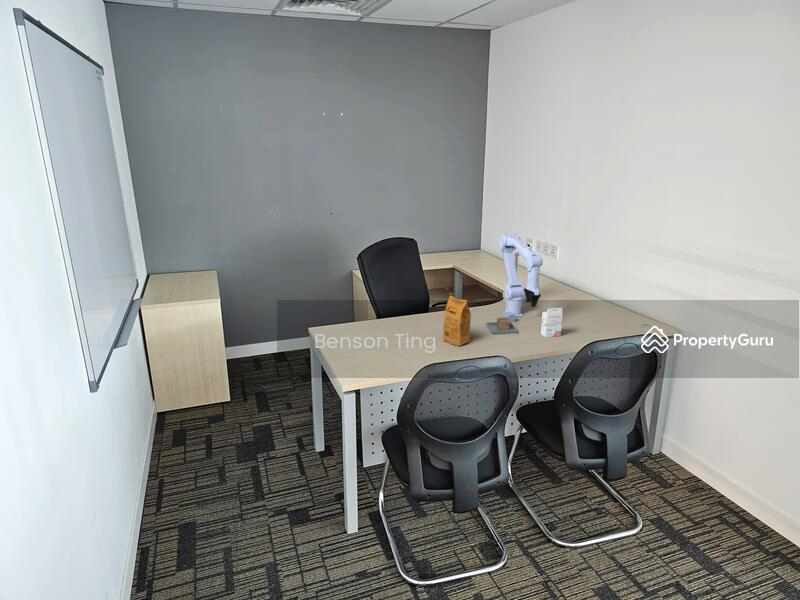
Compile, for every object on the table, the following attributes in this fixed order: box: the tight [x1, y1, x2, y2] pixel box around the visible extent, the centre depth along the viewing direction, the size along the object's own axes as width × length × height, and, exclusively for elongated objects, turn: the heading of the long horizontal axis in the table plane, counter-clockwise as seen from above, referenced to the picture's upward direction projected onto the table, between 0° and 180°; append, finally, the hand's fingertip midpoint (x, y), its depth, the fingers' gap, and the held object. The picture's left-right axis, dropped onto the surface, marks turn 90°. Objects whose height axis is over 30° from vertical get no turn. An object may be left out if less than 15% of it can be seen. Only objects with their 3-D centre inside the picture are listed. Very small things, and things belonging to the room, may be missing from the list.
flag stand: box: [502, 251, 526, 305], centre depth 304 cm, size 13×13×30 cm
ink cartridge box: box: [540, 307, 564, 338], centre depth 256 cm, size 9×5×15 cm, turn 101°
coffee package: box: [442, 295, 472, 347], centre depth 247 cm, size 10×12×22 cm
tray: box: [485, 321, 519, 335], centre depth 266 cm, size 13×13×2 cm
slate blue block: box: [502, 312, 516, 323], centre depth 277 cm, size 4×4×4 cm
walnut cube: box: [496, 316, 509, 330], centre depth 265 cm, size 5×5×5 cm
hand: (531, 304), depth 271 cm, fingers open, 7 cm apart
